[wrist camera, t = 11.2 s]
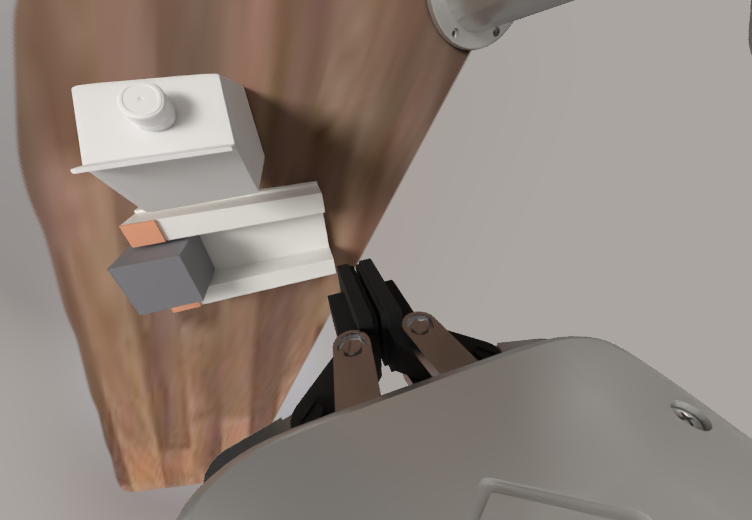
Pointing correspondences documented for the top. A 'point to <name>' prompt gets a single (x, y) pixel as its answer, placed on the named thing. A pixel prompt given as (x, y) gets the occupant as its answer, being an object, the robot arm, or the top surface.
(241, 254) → the chute
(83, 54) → the top surface
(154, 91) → the milk carton
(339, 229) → the top surface
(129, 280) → the block
